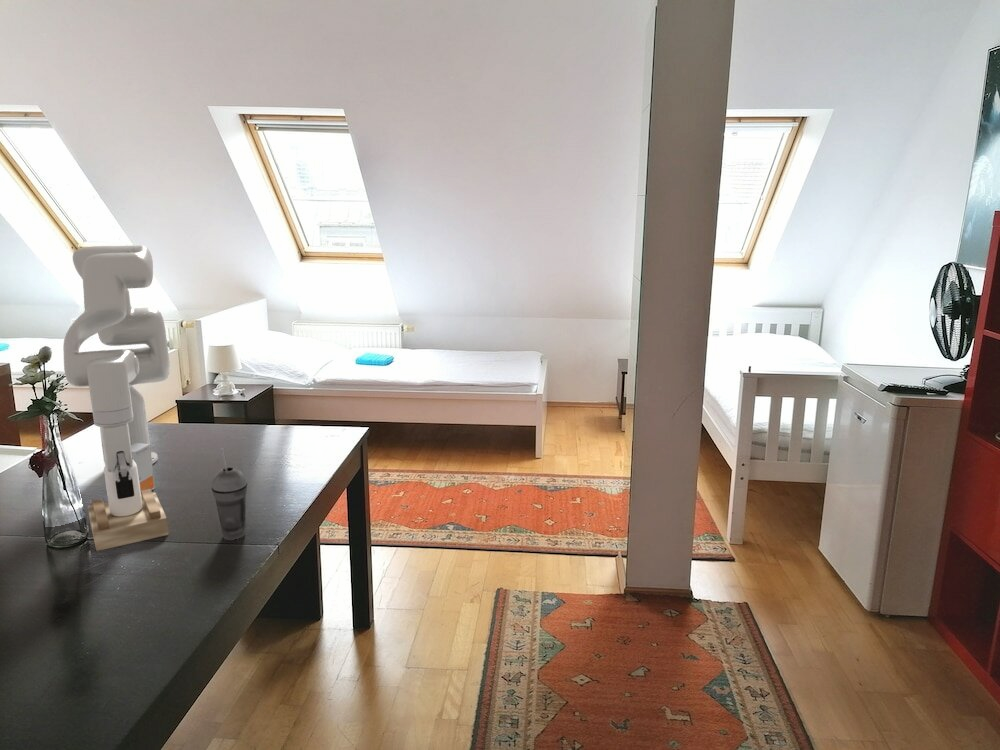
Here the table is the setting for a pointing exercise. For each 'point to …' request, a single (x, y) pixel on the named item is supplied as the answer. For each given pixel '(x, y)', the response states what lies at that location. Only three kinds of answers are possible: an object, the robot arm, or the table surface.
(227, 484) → the beverage cup
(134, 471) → the can
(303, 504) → the table surface
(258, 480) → the table surface
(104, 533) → the plinth
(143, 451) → the skincare box
